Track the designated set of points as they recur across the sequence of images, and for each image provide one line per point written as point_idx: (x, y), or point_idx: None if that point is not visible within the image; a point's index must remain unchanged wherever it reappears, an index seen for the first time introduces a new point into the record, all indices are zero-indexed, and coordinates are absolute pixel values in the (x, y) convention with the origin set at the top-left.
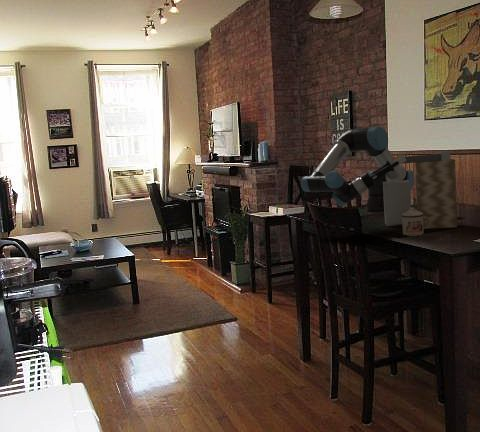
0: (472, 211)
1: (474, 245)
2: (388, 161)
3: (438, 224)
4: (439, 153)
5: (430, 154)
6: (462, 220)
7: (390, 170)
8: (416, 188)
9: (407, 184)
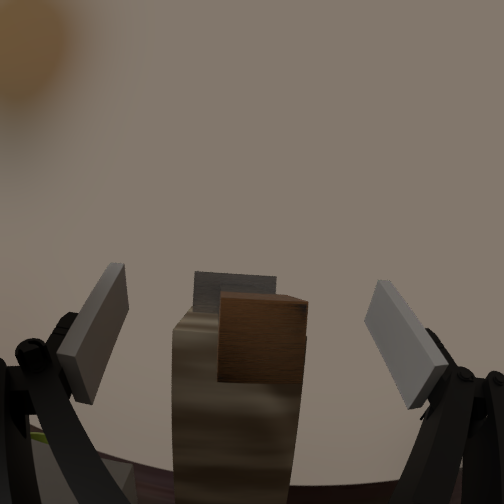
0: (35, 430)
1: (462, 468)
2: (47, 349)
3: None
4: (212, 282)
5: (230, 285)
6: (145, 484)
7: (482, 416)
8: (190, 481)
9: (131, 484)
